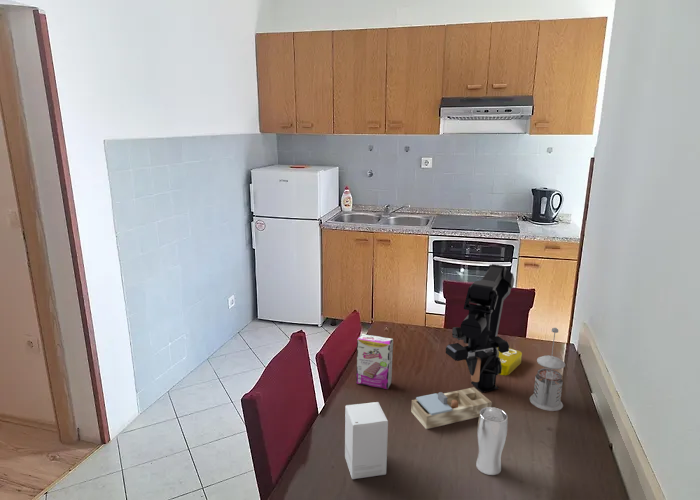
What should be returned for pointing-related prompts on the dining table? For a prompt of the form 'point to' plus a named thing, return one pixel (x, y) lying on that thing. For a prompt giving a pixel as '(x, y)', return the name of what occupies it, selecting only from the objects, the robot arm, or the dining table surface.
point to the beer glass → (491, 439)
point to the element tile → (510, 361)
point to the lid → (434, 403)
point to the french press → (548, 383)
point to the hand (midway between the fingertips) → (475, 374)
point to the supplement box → (366, 440)
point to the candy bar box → (374, 361)
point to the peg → (476, 371)
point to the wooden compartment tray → (453, 408)
